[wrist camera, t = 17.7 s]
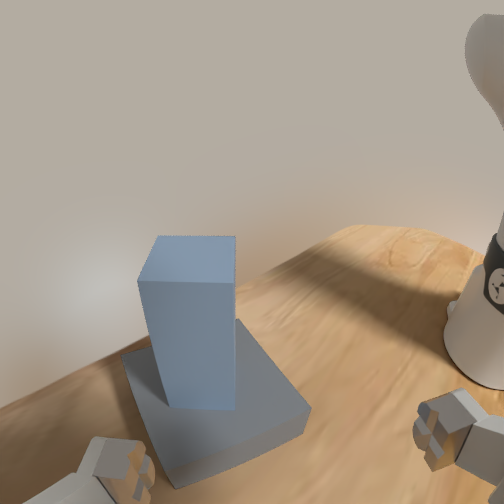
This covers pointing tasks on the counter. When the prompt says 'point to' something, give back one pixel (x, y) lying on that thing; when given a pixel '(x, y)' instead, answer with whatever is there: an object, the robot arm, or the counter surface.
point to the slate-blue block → (192, 318)
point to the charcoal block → (218, 415)
